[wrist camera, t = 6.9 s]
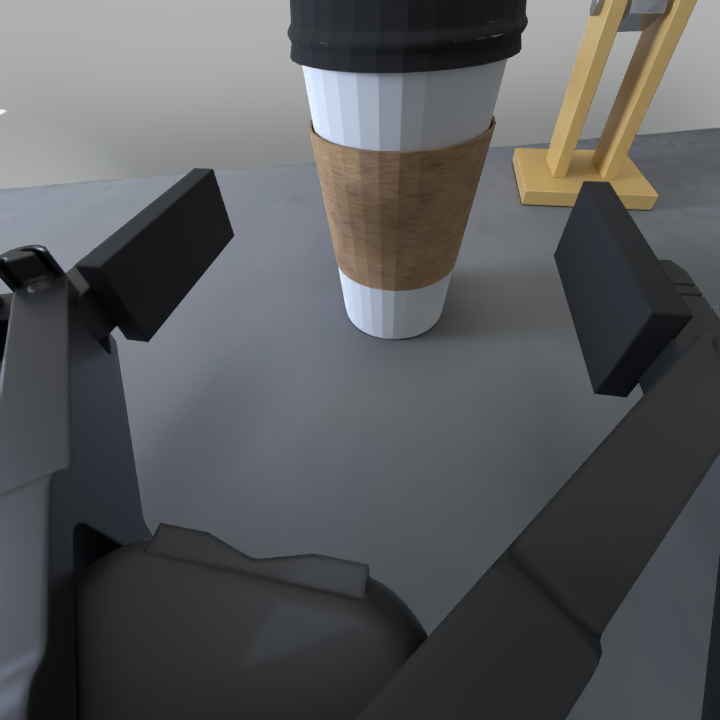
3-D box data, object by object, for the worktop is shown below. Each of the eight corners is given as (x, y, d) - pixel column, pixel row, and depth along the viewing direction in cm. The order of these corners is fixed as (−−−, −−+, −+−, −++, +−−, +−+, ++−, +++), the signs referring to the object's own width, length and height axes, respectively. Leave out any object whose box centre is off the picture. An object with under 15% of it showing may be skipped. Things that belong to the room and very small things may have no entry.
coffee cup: (363, 257, 27) (351, -52, 16) (479, 286, 24) (565, -67, 13) (299, 329, 22) (217, -48, 11) (436, 375, 19) (516, -71, 8)
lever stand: (651, 210, 30) (793, -43, 20) (521, 204, 31) (589, -32, 21) (618, 163, 36) (711, -44, 26) (512, 160, 38) (560, -36, 28)
